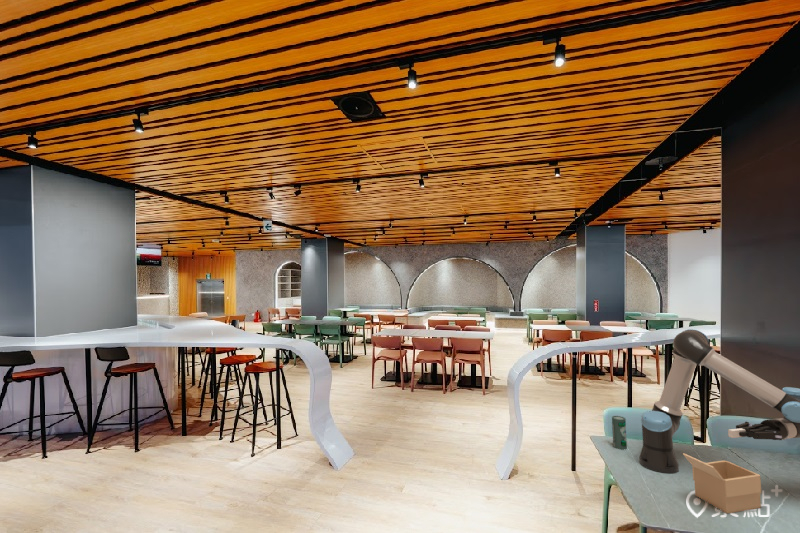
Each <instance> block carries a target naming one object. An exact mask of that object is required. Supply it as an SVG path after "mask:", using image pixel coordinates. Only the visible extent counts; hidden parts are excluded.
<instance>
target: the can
mask: <svg viewBox="0 0 800 533" xmlns="http://www.w3.org/2000/svg"><path fill="white" fill-rule="evenodd" d="M626 420H627V419H626V417H624V416H621V415H613V416H611V421H612V422H611V424H612V426H611V427H612V446H613V448H615V449H617V450H622V451H624V449H625V450H627V449H628V443H627V441H628V439H627V426H626V425H627V422H626Z"/></svg>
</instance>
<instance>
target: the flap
mask: <svg viewBox="0 0 800 533" xmlns="http://www.w3.org/2000/svg"><path fill="white" fill-rule="evenodd" d="M682 455H683V456H684V457H685V458H686V460H687V462H689V463H690V464H691V465H692V466H693V467H695V468H698V469H700V470H702V471H704V472H706V473H708V474H710V475H712V476H714V477H716V478H719V479H721V480H723V481H724V479H723V478H722V476H721V475H720V474H719V473H718V471H717V470H716V469H715V468H714V467H713V466H711V465H709V464H707V463H708V462H704V461H702V460H700V459H698V458H695V457H693V456H691V455H688V454H687V453H685V452H684V453H682ZM693 467H692V468H693Z"/></svg>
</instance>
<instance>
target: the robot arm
mask: <svg viewBox="0 0 800 533" xmlns="http://www.w3.org/2000/svg"><path fill="white" fill-rule="evenodd" d="M672 354H673V356H674V359H673V362H672V364H671V367H670V370H669V373H668V376H667V378H666V381H665V384H664V387H663V390H662V392H661V395H660V398H659V400H658V401H657V400H656V401H654V404H653V406H652V409H651V410H649V411H648V410H647V411H644V412H643V413H642V415H641V419H640V421H641V434H642V448H641V451H640V454H639V458H638V459H639V464H640V465H641V466H643V467H645V468H646V469H648V470H651V471H654V472H658V473H663V474H674V473H677V472H679V470H680V468H679V465H680V464H679V462H678V460H677V457H676V455H675V452H674V444H673V443H674V442H673V436H674V434H676V432H677V431H678V429H679V428H680V426H681V419H682V417H683V412H682V410H681V407H682V405H683V402H684V399H685V397H686V394H687V391H688V389H689V386H690V383H691V381H692V377H693V375H694V372H695V370H696V367H697V366H701V367H702V366H704V367H705V368H707V369H709V370H710V371H711V372H713V373H715V374H717V375H719V376H720V377H721V378H724V379H725V380H727V381H729V382H730V383H732V384H734V385H736V387H738V388H740V389H742V390H743V391H745V392H747V393H748V394H749V395H752V397H755V398H756V399H758V400H760V401H761V402H763V403H765V404H766V405H768V406H769V407H770V408H773V409H774V410H776V411H778V412H779V413H781V414H782V418H781V417H780V418H773V419H764V420H762V421H761V422H760V423H754V424H751V423H750V422H748V421H745V422H744V423H740V424H737V425H735V428H731V429H727V433H728V436H727V437H729V438H732V439H736V438H744V437H745V438H746V437H747V438H752V439H754V440H772V441H783V440H784V441H785V440H788V439H789V440H790V439H797V438H800V388H798V387H790V386H785V387H783V388H782V389H780V388H778V387H777V386H774V385H773V384H771V383H770V382H768V381H766V380H764V379H762V377H759V376H758V375H757V374H754V373H752V372H751V371H749V370H747V369H745V368H743V367H742V366H741V365H738V364H737V363H735V362H733V361H732V360H730V359H729V358H726V357H725V356H723V355H722V354H720V353H718V352H716V350H715V348H714V347H712V346H711V345H710V340H709V338H708V336H707V335H706V334H705V333H703V331H700V330H697V329H692V328H691V329H690V328H689V329H685V330H683V331H681V332H679V333H678V334H677V335H676V336H675V337H674V339H673V351H672Z"/></svg>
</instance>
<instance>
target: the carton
mask: <svg viewBox="0 0 800 533" xmlns="http://www.w3.org/2000/svg"><path fill="white" fill-rule="evenodd" d="M706 463H707V464H709V465H711V466H713V467H714V468H715V469H716V470H717V471H718V473H719V474H720V475H721V476H722V478H723V479H724V481H723V480H721V479H719V478H716V477H714V476H712V475H710V474H708V473H706V472H704V471H702V470H700V469H698V468H695V467H693V466H692V479H693V481H694V495H695V496H694V497H696V496H697V497H696V498H698V497H699V498H698V499H700V498H701V499H703V500H705V501H706V502H705V501H704V502H705V503H707V502H708V503H707V504H709V505H710V504H712V505H713V506H712V505H711V506H712V507H714V506H715V508H716V507H717V508H716V509H718V508H719V509H721V510H722V511H721V510H720V511H721V512H723V513H725V514H733V513H739V512H744V511H750V510H751V511H752V510H755V509H757V510H758V509H760V508H762V504H761V494H762V481H761V475H760V474H759V473H757V472H755V471H752V470H749V469H747V468H744V467H742V466H741V465H740V466H739V465H737V464H735V463H733V462H730V461H728V460H716V461H711V462H710V461H709V462H706ZM701 499H700V500H701ZM703 500H702V501H703ZM719 509H718V510H719Z"/></svg>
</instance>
